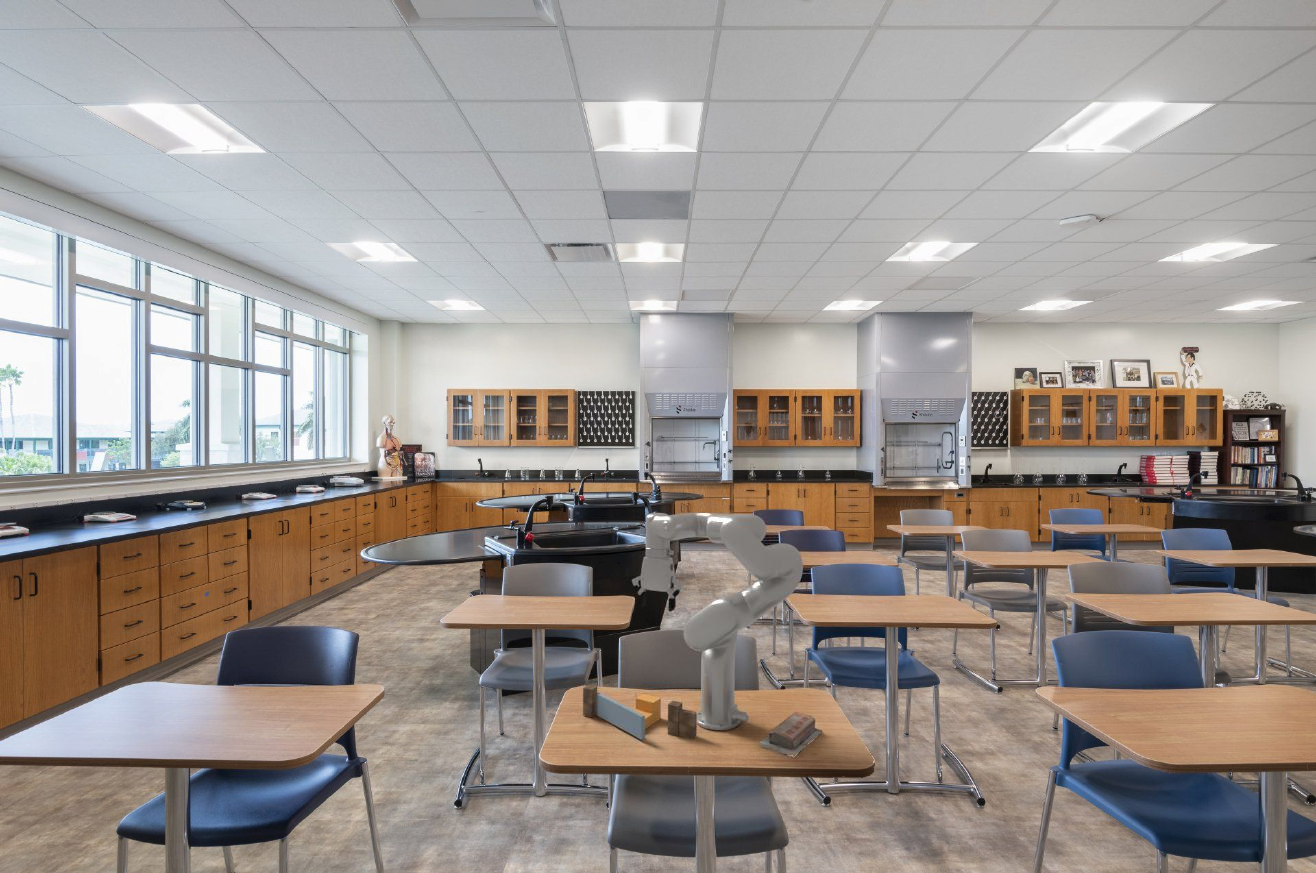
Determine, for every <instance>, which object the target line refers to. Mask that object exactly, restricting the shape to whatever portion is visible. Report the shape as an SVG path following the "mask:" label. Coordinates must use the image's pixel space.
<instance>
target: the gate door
mask: <svg viewBox="0 0 1316 873" xmlns="http://www.w3.org/2000/svg"><path fill="white" fill-rule="evenodd" d="M595 716H597V717H600V718H601V719H603V720H605V721H607V722H608V723H611V724H612V725H614V726H616V727H617V728H619V729H621V730H623V731H625V732H627V733H628V734H631V735H632V736H634V737H636V738H637V739H639V740H641V741H642V740H645V737H646V729H645V715H643V714H641V713H639V712H637V711H635V709H633V708H630V707H629V706H626V705H624V704H623V703H621V702H618V701H617V700H614V699H613V698H611V697H608V696H607V695H605V694H603V693H600V692H597V693H596V715H595Z"/></svg>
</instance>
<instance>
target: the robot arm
mask: <svg viewBox="0 0 1316 873" xmlns="http://www.w3.org/2000/svg"><path fill="white" fill-rule="evenodd" d="M766 534H767V525H766V523H765V521H764V520H763V518H761V517H760V516H758V515H755V514H749V513H718V512H717V513H715V512H714V513H709V512H706V513H703V512H702V513H701V512H688V513H687V512H686V513H678V514H670V515H669V514H667V513H663V512H651V513H648V514H647V515H646V517H645V556H644V557H643V560H642V564H641V572H640V575H638V576H636V577H634V578H632V579H631V582H632V585H633V588H634V590H635V591H636V592H637V594H638V600H639V601H638V602H639V608H640V609H643V608H645V607H647V593H646V591H655V592H662V593H663V592H664V593H665V592H666V593H667V594H668V597H669V598H668V607H667V608H668V612H672V611H675V608H676V602H677V600H676V599H677V598H676V597H678V596H679V595H680V594H681V592H682V590H683V589H684V586H685V584H684V583H683V582H682V581H681V580H679V579H677V578H676V576H675V575H676V574H675V573H676V572H675V565H674V560H673V559H674V558H673V557H671V556H674V553H675V551H674V550H672V549H671V546H670V545H671V544H670V543H671V541H677V540H682V539H689V538H708V540H709V541H710V542H711V543H713V544H722V545H723V544H724V545H725V547H726V548H727V549H728V550H729V552H730V553H731V554H732V555H733V556H734V557H735V559H736V560H737V561H738V562H739V563H740V564H741V565H742V566H743V568H745V570H746V571H747V572H748V573H749V574H750V575H751V576H753V577H754V578H756V580H754V581H753V582H752V583H751V584H749V585H748V586H746V587H745V588H743V589H742V590H740V591H737V592H734V593H730V594H727V595H725V596H722V597H719V598H717V599H715V600H714V601H712V602H710V603H709V604H707V605H706V606H705V607H703V608H702V609H701V610H699V611H698V612H697V613H695V614H694V615H693V616H691V617H690V618H689V619H688V620H687V622H686V623H685V624H684V628H683V638H684V641H685V643H686V644H687V646H688V647H689V648H690V649H692V650H694V651H696V652H701V660H700V661H701V662H700V663H701V665H700V669H701V670H700V672H701V673H700V690H701V691H700V698H701V699H700V711H699V712H697V725H699V727H701V728H703V729H706V730H707V729H708V730H710V731H711V730H713V731H729V730H732V729H735V728H737V727H738V726H739V725H740V723H749V719H750V718H749V717H750V716H749V715H748V712H747V711H741V710H740V709H738V708H739V706H738V704H735V667H736V666H735V664H736V662H735V661H736V657H735V656H736V647H737V646H736V644H737V639H738V634H739V632H738V631H740V630H742V629H746V628H747V627H749V626H752V625H753V624H754V623H755V622H756V621H757V620H759V619H761V618H762V617H763V616H764V615H766V614H767V613H769V612H770V611H772V610H773V609H774V608H776V607H777V606H778V605H779V604H781V603H783V602H784V601H785V600H786V599H787V598H788V597H790V596H791V595H792V594H793V593H794V592H795V590H796V589H797V587H798V586H799V584H800V582H801V580H802V576H803V572H804V570H803V569H804V564H803V563H804V562H803V557H802V555H801V553H800V551H799V550H798V549H797V548H796V547H795V546H794V545H792V544H789V543H784V542H783V543H781V542H780V543H773V544H769V545H764V543H763V542H762V541H763V540H764V538H765V537H766ZM639 581H640V584H639ZM676 587H677V588H676ZM675 588H676V590H675Z"/></svg>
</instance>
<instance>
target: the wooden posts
mask: <svg viewBox="0 0 1316 873" xmlns="http://www.w3.org/2000/svg"><path fill="white" fill-rule="evenodd" d="M596 693H598V685H594V684H587V685H586V686H584V687H583V689H582V716H583V715H585V716H584V717H587V716H588V717H587V718H591V717H592V718H593V717H594V715H595V716H597V715H596ZM697 713H698V712H697V711H694V710H690V709H683V701H676V700H671V701H670V702H669V703H668V704H667V735H671V736H675V737H679V736H682V737H685V738H690V739H696V737H698V736H697V733H698V732H697V726H698V724H697Z"/></svg>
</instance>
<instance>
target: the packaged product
mask: <svg viewBox="0 0 1316 873" xmlns="http://www.w3.org/2000/svg"><path fill="white" fill-rule="evenodd" d="M815 726H816V718H815V717H814V716H812V715H809V714H805V713H802V712H797V711H796V712H795V711H794V713H792V714H791V715H790V716H788V717H787V718H785V719H784V720H783V721H782V722H780V723H779V724H778V725H777V726H774V728H772V729H771V730H770V731H769V733H768V735H767V736H766V737H764V739H762V740H761V741H760V742H759V747H760V748H763V749H765V748H766V749H765V750H768V749H769V751H771V750H772V751H771V752H775V753H777V752H779V753H778V754H781V753H782V754H781V755H784V754H788V755H793V756H795V755H796V754H797V753H798V752H800V750H802V749H803V748H804V747H805V746H807V745H808V743H810V742H811V741H812V740H813V739H814V740H816V739H817V738H818V737H819V736H820V735H821V734H822V733H823V730H822V729H819V728H816V727H815ZM821 732H822V733H821ZM820 733H821V734H820ZM819 734H820V735H819ZM818 735H819V736H818ZM817 736H818V737H817ZM816 737H817V738H816ZM815 738H816V739H815ZM808 746H809V745H808ZM808 746H807V747H808ZM804 749H805V748H804ZM804 749H803V750H804ZM803 750H802V751H803ZM800 753H801V752H800Z"/></svg>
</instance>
